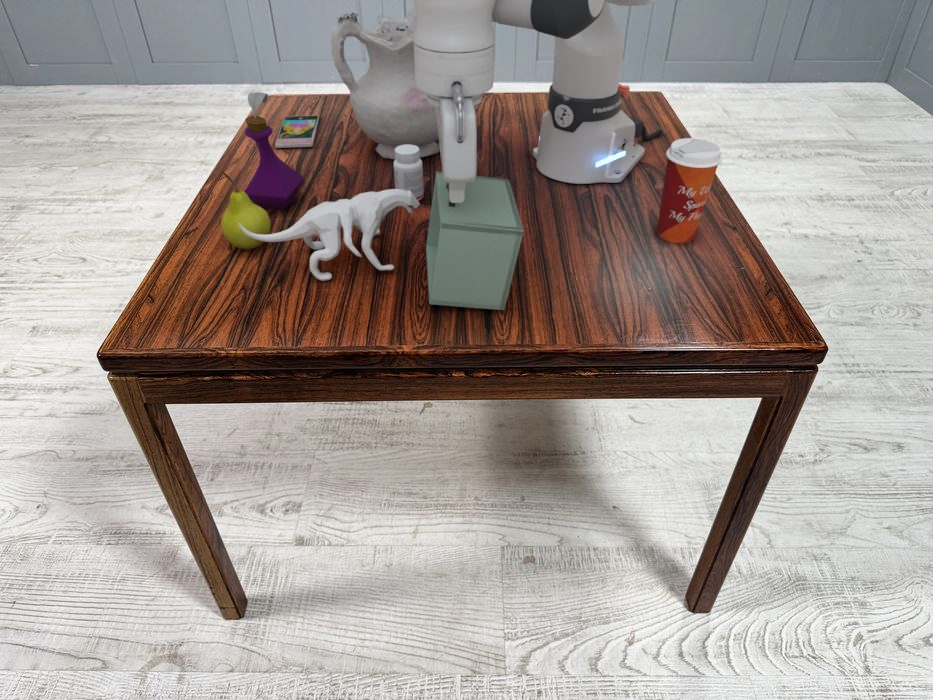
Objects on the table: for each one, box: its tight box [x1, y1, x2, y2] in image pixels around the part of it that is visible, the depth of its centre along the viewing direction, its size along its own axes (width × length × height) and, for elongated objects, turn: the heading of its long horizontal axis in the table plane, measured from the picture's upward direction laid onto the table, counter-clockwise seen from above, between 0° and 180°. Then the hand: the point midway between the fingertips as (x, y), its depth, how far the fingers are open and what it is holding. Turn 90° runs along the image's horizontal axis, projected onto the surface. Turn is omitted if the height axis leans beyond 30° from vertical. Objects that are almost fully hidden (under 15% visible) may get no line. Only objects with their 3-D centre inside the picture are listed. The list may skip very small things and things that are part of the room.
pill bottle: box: [393, 144, 425, 202], centre depth 108 cm, size 5×5×8 cm
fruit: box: [220, 170, 272, 251], centre depth 95 cm, size 7×7×12 cm
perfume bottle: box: [243, 91, 305, 211], centre depth 103 cm, size 8×8×18 cm
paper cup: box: [657, 137, 723, 244], centre depth 97 cm, size 8×8×14 cm
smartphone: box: [274, 114, 320, 149], centre depth 131 cm, size 7×1×15 cm
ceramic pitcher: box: [330, 7, 440, 160], centre depth 118 cm, size 22×20×25 cm
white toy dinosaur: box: [238, 188, 421, 282], centre depth 92 cm, size 12×25×10 cm, turn 107°
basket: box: [425, 170, 524, 311], centre depth 86 cm, size 10×14×15 cm
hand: (454, 184), depth 82 cm, fingers closed on basket, 7 cm apart
